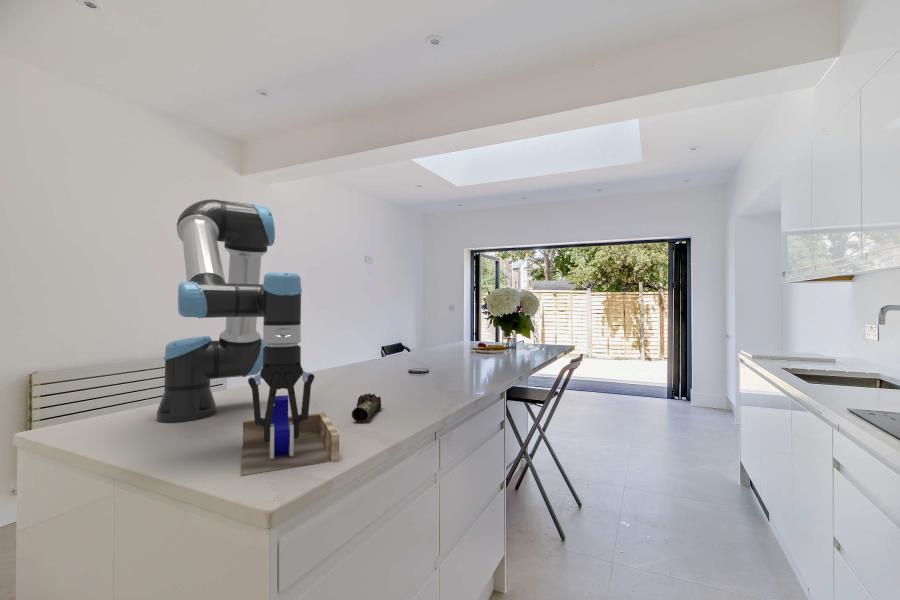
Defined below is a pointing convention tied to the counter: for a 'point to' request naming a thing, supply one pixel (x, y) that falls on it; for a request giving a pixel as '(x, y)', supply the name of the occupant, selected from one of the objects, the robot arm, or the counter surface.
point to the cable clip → (280, 425)
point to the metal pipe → (366, 407)
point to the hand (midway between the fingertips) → (281, 455)
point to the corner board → (309, 448)
